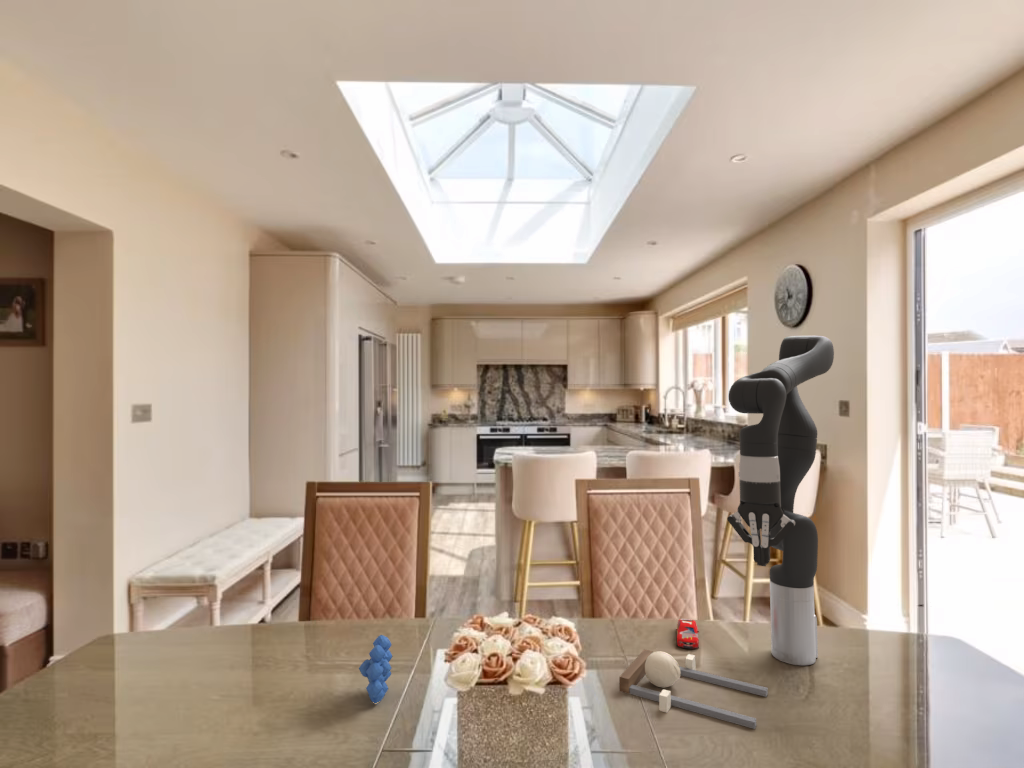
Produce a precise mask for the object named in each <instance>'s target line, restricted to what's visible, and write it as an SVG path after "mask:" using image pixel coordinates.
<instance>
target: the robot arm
mask: <svg viewBox="0 0 1024 768" xmlns="http://www.w3.org/2000/svg"><path fill="white" fill-rule="evenodd" d="M778 354H779V355H778V360H777V361H774V362H771V363H770V364H768V365H767V366H766V367H764V368H763V369H762V370H760V371H758V372H755V373H751V374H748V375H745V376H742V377H740V378H739V379H738V378H737V380H735V381H734V382H733V384H731V387H730V389H729V391H728V402H729V405H730V406H731V408H732V410H734V411H736V412H737V413H740V414H762V417H761V420H760V421H759V422H758V423H756V424H751V425H746V426H743V427H741V428H740V431H739V463H738V477H739V478H738V479H739V505H738V506H737V511H735V512H734V513H732V514H730V515H728V516H727V518H726V519H727V522H728V523H729V524H730V525H731V527H732V528H733V529H734V531H735V532H736V533H737V534H738V536H739V537H740V538H741V540H742V541H743V542H744V543H746V544H747V543H748V544H751V545H752V549H753V560H754V562H755V563H756V565H757V566H760V567H766V566H767V564H769V563H770V562H771V561H770V560H771V549H770V548H774V549H776V550H779V551H781V552H782V563H781V564H780V563H779V564H775V565H773V566H771V567H770V568H769V598H770V600H769V601H770V604H769V605H770V608H769V609H770V643H771V644H770V645H771V646H770V648H771V651H770V652H771V655H772V657H774V658H775V659H777V660H778V661H780V662H783V663H786V664H789V665H794V666H810V665H813V664H815V663H816V661H817V659H816V658H818V657H819V651H818V650H819V649H818V648H819V647H818V644H819V643H818V618H817V615H816V614H815V613H816V612H815V585H814V583H815V581H814V580H815V576H816V575H817V574H816V573H817V571H818V553H819V552H818V551H819V537H818V531H817V530H818V529H817V527H816V524H815V523H814V521H813V520H812V519H811V518H810V517H807V516H806V515H803V514H798V513H795V512H794V507H795V499H796V498H795V497H796V493H797V489H799V486H800V484H801V482H802V481H803V479H804V478H805V476H807V474H808V472H809V471H810V469H811V467H812V466H813V463H815V458H816V454H817V442H818V428H817V425H816V424H815V421H814V419H813V418H812V416H811V414H810V413H809V411H808V409H807V408H806V406H805V404H804V402H803V400H802V398H801V396H800V393H799V390H798V386H799V385H801V384H804V383H805V382H807V381H809V380H811V379H814V378H816V377H818V376H821V375H824V374H826V373H827V372H829V370H830V369H831V368H832V366H833V363H834V358H835V349H834V345H833V341H831V339H830V338H829V337H827V336H822V335H790V336H789V335H788V336H785V337H784V338H783V339H782V341H781V344H780V346H779V353H778ZM742 520H743V521H744V522H745V525H747V526H748V527H749V528H750V532H749V531H748V530H747V529H746V528H745V526H744V525H743V524H742Z"/></svg>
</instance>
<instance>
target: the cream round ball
mask: <svg viewBox="0 0 1024 768" xmlns="http://www.w3.org/2000/svg"><path fill="white" fill-rule="evenodd" d="M679 666H680V665H679V662H678V661H677V660H676V659H675V658H674V657H673V656H672V655H671V654H669V653H667V652H665V651H660V650H659V651H658V650H657V651H654V652H653V653H651V654H650V655H649V656H648V658H647V659H646V662H645V673H646V674H645V676H646V678H647V680H648V681H649V682H650V683H651V684H653V685H654V686H656V687H659V688H664V689H665V688H669V687H671V686H673V685H674V684H675V683H676V682H677V681H679V680H680V678H681V675H680V674H681V672H680V667H681V666H680V667H679Z"/></svg>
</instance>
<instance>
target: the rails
mask: <svg viewBox="0 0 1024 768" xmlns="http://www.w3.org/2000/svg"><path fill="white" fill-rule="evenodd" d="M679 667H680V672H681V674H680V677H681V676H682V677H685V678H688V679H694V680H697V681H702V682H706V683H709V684H714V685H718V686H721V687H724V688H725V687H726V688H729V689H733V690H737V691H742V692H744V693H749V694H752V695H753V694H754V695H757V696H760V697H766V698H767V697H768V694H769V691H768V690H769V689H768V687H765V686H761V685H758V684H754V683H750V682H746V681H741V680H737V679H733V678H729V677H725V676H720V675H717V674H712V673H708V672H705V671H699V670H696V669H695V670H693V669H689V668H686V667H683V666H680V665H679ZM661 692H662V691H661ZM661 692H660V691H658V690H653V689H650V688H648V687H647V688H646V687H643V686H640V685H631V686H630V687H629V694H628V695H633V696H637V697H641V698H644V699H648V700H651V701H655V702H658V703H659V694H660V693H661ZM672 706H673V707H675V708H679V709H683V710H685V711H690V712H693V713H696V714H700V715H704V716H708V717H711V718H714V719H718V720H722V721H725V722H728V723H732V724H736V725H739V726H742V727H746V728H749V729H753V730H756V727H757V718H756V717H752V716H749V715H745V714H742V713H737V712H735V711H734V712H733V711H730V710H726V709H723V708H719V707H716V706H712V705H709V704H704V703H702V702H698V701H693V700H690V699H687V698H683V697H678V696H676V695H672V694H671V707H672Z"/></svg>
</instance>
